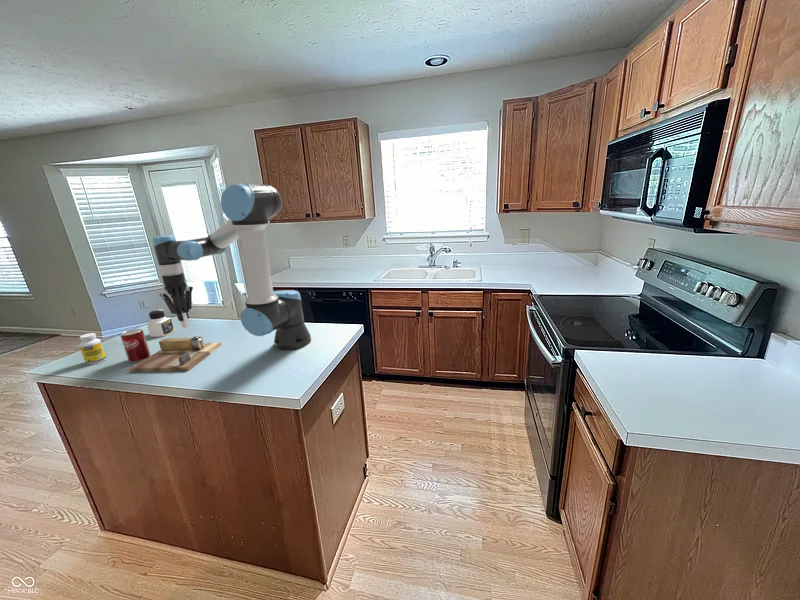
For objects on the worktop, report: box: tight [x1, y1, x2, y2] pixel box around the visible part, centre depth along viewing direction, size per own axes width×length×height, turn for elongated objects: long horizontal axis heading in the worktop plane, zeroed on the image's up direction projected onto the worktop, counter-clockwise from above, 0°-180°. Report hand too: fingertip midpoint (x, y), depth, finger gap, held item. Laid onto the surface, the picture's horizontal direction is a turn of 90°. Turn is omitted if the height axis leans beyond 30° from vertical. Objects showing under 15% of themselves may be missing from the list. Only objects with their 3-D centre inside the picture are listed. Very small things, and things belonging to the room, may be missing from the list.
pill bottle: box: [79, 332, 107, 365], centre depth 135 cm, size 6×6×12 cm
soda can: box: [120, 328, 151, 364], centre depth 135 cm, size 7×7×12 cm
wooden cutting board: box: [129, 342, 223, 373], centre depth 135 cm, size 23×22×4 cm
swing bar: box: [158, 336, 205, 350], centre depth 139 cm, size 17×4×5 cm, turn 87°
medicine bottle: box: [146, 309, 175, 338], centre depth 161 cm, size 7×7×12 cm
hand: (185, 327), depth 144 cm, fingers closed
